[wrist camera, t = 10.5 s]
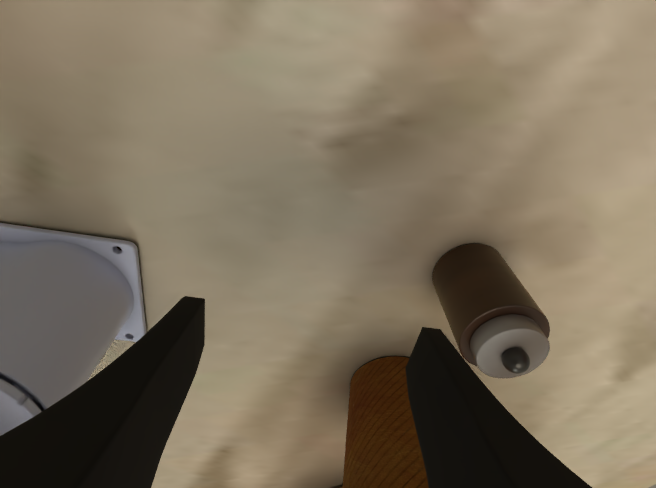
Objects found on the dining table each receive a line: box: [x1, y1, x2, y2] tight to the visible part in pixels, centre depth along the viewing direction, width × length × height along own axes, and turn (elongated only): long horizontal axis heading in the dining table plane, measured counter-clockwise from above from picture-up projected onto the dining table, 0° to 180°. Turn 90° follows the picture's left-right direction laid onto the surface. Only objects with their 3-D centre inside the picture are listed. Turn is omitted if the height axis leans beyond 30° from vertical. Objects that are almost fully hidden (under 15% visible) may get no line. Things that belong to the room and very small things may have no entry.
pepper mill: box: [432, 244, 550, 378], centre depth 20 cm, size 4×4×8 cm
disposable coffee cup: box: [343, 356, 429, 488], centre depth 24 cm, size 10×10×12 cm
